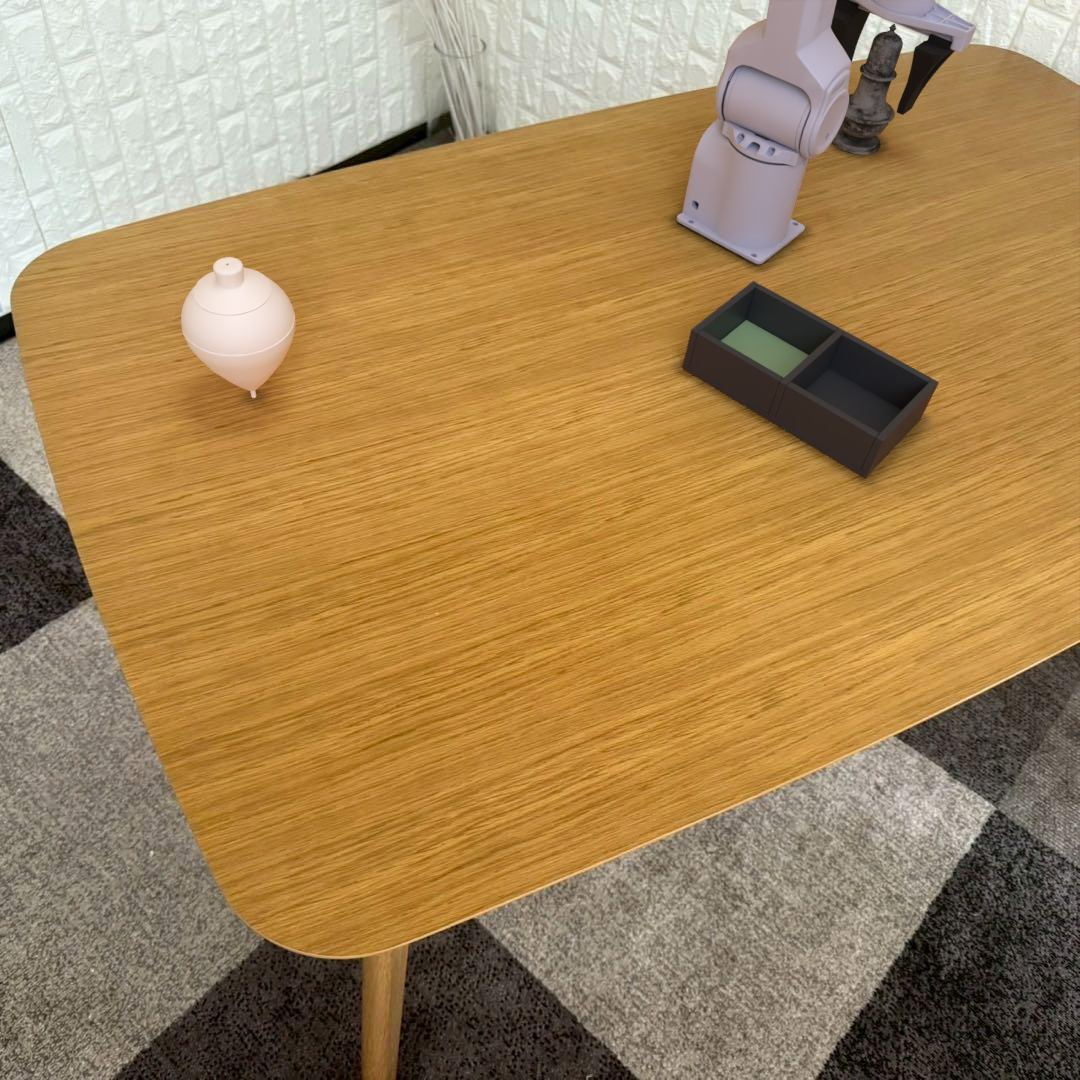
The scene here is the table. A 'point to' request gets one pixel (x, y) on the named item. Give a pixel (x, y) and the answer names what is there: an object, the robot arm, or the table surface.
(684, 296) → the table surface
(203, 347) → the spinning top
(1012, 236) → the table surface
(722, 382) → the divided box
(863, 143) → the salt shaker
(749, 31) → the robot arm
